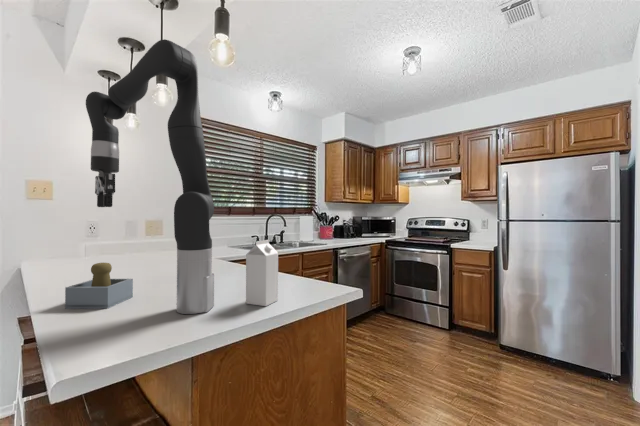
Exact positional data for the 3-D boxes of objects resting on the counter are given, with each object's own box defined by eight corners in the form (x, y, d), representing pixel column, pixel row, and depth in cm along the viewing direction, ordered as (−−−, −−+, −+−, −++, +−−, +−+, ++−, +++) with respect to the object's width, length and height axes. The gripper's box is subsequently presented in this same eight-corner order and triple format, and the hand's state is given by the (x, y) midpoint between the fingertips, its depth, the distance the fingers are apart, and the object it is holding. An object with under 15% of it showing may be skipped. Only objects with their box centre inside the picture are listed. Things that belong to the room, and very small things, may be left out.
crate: (132, 297, 100) (132, 278, 100) (107, 308, 88) (107, 287, 88) (95, 297, 99) (95, 278, 99) (65, 308, 87) (65, 287, 87)
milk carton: (245, 304, 92) (246, 241, 93) (258, 298, 99) (259, 239, 99) (265, 306, 90) (266, 242, 90) (278, 300, 96) (278, 240, 96)
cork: (100, 302, 90) (100, 264, 90) (83, 301, 91) (83, 264, 91) (118, 296, 96) (118, 261, 96) (101, 295, 97) (102, 261, 97)
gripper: (125, 156, 97) (124, 207, 97) (113, 160, 107) (112, 207, 107) (96, 152, 92) (95, 206, 92) (86, 157, 101) (85, 206, 101)
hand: (104, 207), depth 99 cm, fingers open, 8 cm apart
